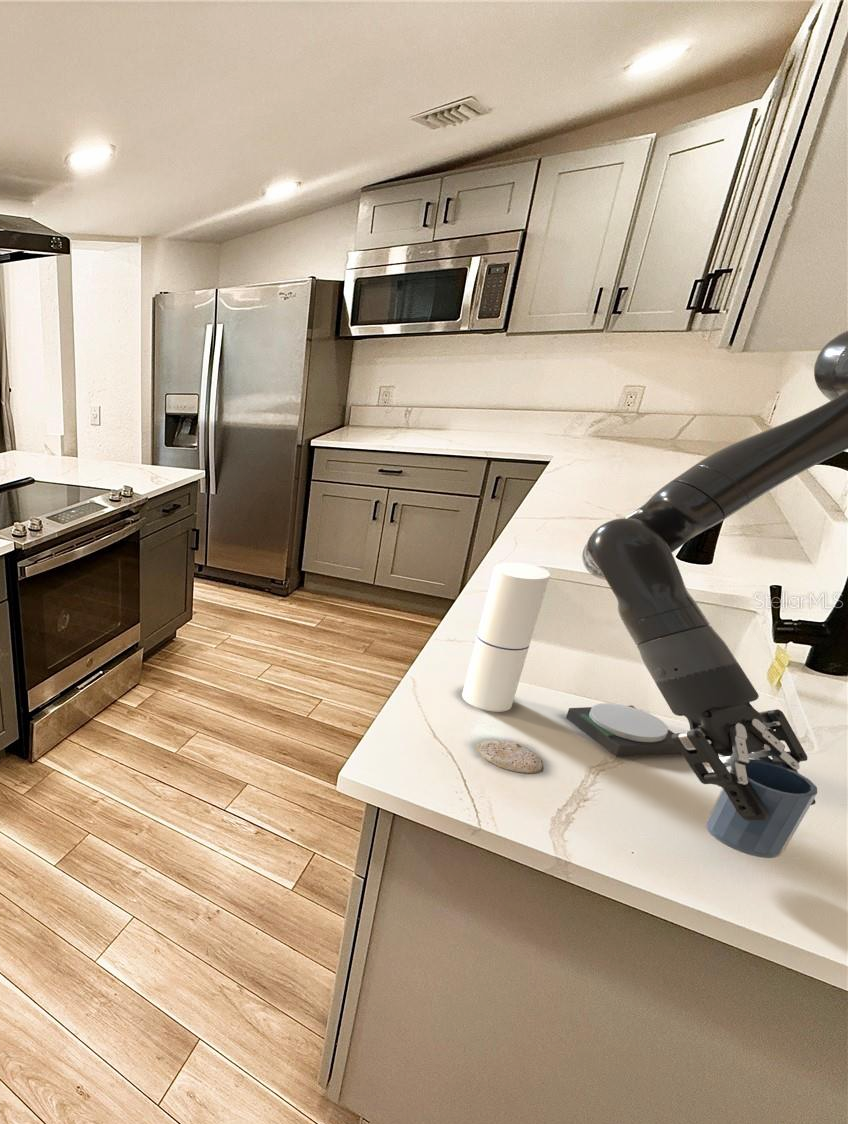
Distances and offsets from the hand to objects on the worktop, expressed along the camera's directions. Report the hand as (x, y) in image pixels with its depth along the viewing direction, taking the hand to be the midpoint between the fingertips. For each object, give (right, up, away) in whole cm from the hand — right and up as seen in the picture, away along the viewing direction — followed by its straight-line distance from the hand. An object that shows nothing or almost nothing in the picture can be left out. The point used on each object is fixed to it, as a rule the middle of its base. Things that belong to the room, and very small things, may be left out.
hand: (780, 812), depth 68 cm
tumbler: (0, -4, +4) cm, 6 cm away
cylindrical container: (-5, +5, +39) cm, 39 cm away
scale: (+9, +2, +28) cm, 29 cm away
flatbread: (-11, -1, +25) cm, 28 cm away
